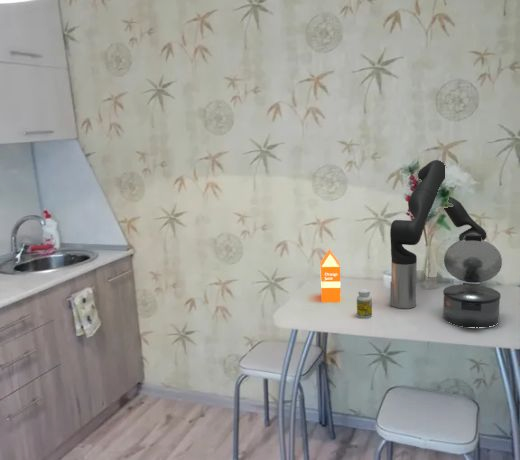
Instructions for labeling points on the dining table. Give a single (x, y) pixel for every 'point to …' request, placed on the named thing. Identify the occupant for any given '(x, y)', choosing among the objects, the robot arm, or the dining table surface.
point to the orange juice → (330, 278)
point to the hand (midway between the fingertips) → (472, 251)
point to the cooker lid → (473, 260)
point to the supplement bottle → (364, 304)
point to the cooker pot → (471, 305)
